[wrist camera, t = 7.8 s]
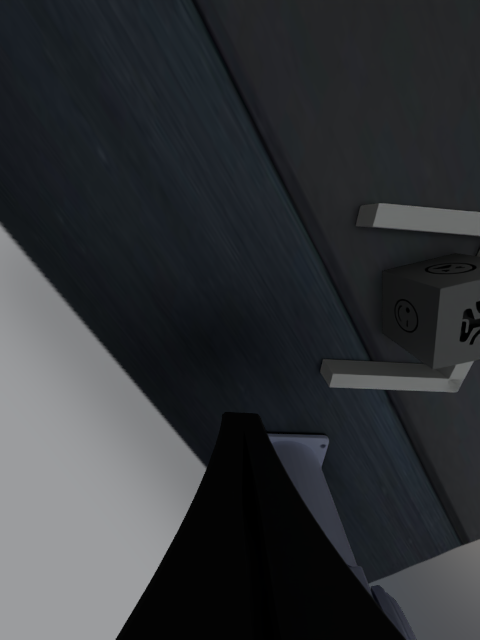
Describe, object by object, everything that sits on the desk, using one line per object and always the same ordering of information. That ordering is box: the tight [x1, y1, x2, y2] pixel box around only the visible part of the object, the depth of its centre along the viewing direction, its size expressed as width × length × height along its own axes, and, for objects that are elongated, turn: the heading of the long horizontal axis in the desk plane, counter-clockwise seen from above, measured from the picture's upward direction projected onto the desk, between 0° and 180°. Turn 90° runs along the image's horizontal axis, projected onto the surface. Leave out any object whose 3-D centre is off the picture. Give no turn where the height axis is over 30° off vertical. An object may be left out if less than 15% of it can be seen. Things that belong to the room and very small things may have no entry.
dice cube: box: [382, 254, 480, 369], centre depth 15 cm, size 5×5×5 cm
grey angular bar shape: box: [320, 203, 480, 392], centre depth 16 cm, size 12×10×2 cm
